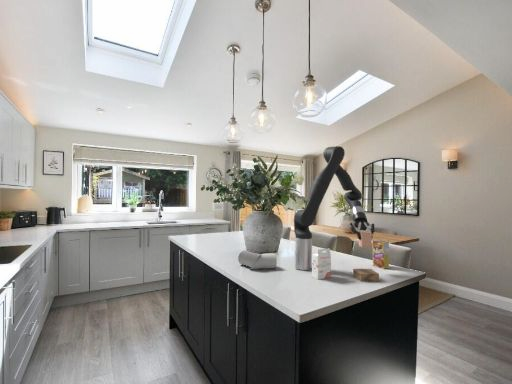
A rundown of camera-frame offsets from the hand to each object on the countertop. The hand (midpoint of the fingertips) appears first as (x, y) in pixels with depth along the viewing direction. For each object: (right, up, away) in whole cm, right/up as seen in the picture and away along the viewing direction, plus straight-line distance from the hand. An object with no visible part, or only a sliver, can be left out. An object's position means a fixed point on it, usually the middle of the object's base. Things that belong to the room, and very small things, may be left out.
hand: (365, 239), depth 143 cm
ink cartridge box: (-27, -18, -10) cm, 34 cm away
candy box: (+14, -19, +11) cm, 26 cm away
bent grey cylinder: (-60, -18, +8) cm, 63 cm away
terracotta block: (0, -4, +1) cm, 4 cm away
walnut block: (-5, -18, -11) cm, 22 cm away
